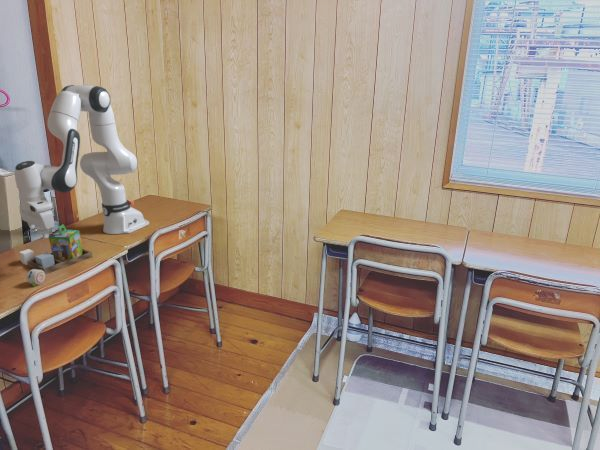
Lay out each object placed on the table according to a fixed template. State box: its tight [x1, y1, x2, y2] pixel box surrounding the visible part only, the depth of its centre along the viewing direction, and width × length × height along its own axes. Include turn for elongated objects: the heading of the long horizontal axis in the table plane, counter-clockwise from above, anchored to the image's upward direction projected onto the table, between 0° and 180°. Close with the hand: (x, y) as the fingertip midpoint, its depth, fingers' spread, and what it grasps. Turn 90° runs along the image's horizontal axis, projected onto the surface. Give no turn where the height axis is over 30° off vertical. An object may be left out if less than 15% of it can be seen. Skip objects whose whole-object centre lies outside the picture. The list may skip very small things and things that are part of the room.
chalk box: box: [48, 224, 84, 262], centre depth 211 cm, size 9×9×15 cm
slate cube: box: [34, 252, 55, 268], centre depth 206 cm, size 5×5×5 cm
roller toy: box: [26, 268, 46, 287], centre depth 191 cm, size 4×6×6 cm
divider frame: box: [27, 248, 93, 275], centre depth 211 cm, size 21×14×2 cm, turn 144°
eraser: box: [18, 248, 36, 266], centre depth 210 cm, size 4×4×5 cm
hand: (40, 234), depth 202 cm, fingers open, 8 cm apart
